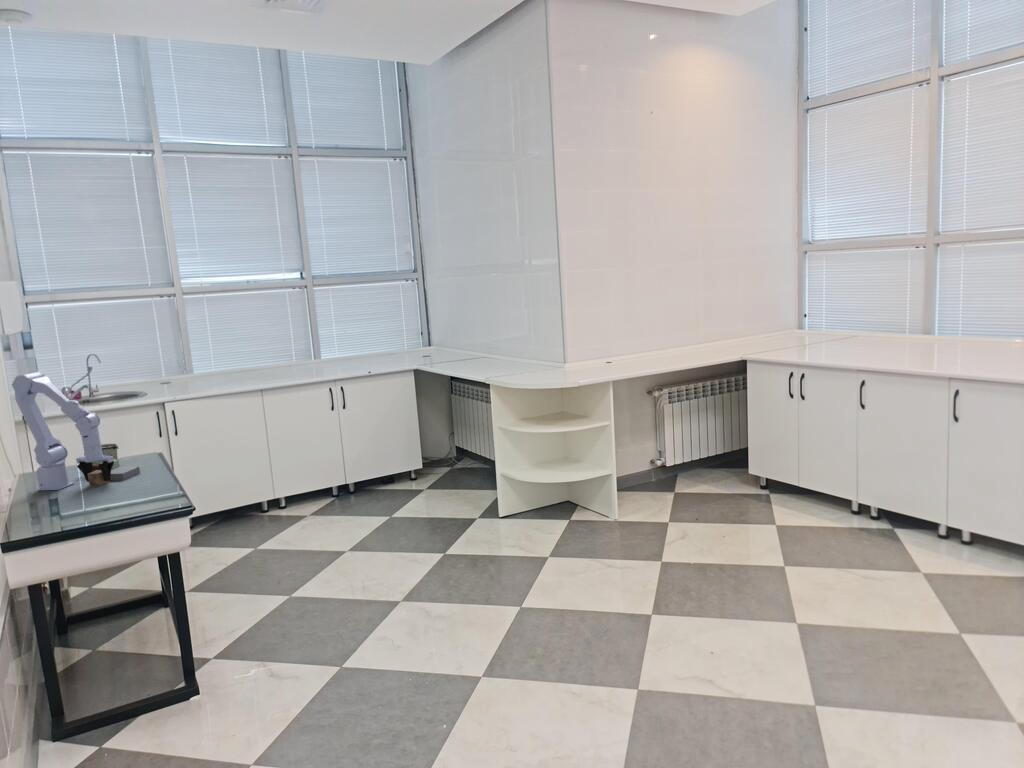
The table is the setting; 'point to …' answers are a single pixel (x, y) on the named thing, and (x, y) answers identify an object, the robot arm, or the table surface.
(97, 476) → the walnut block
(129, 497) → the table surface
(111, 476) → the base block
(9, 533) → the table surface
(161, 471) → the table surface
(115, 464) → the sage block
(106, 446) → the food container
